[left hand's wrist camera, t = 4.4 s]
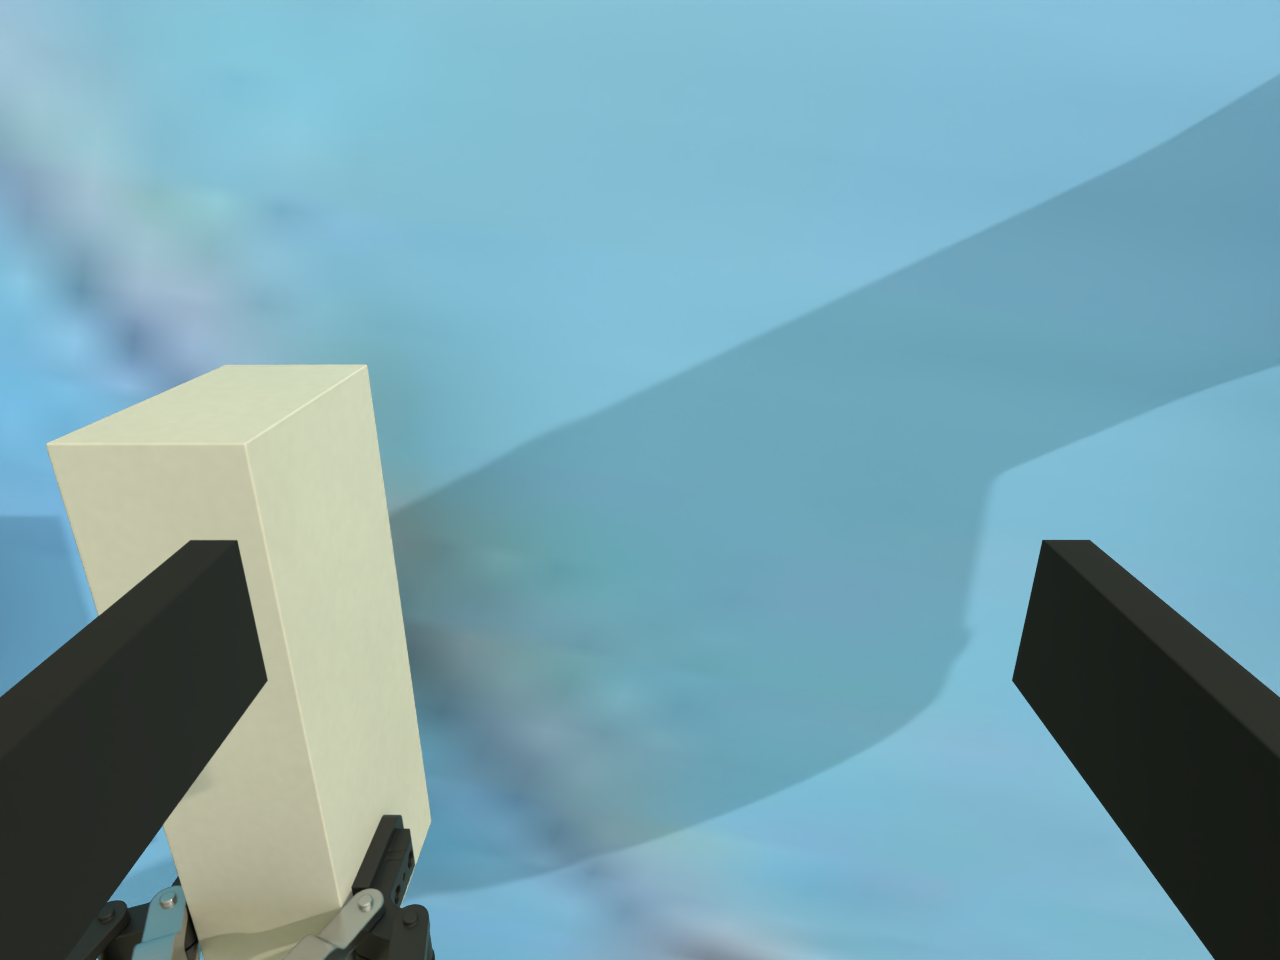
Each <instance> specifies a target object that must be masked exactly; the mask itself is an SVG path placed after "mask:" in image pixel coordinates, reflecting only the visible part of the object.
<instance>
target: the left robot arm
mask: <svg viewBox="0 0 1280 960" xmlns="http://www.w3.org/2000/svg"><path fill="white" fill-rule="evenodd" d="M267 681H268V679H267V674H266V670H265V665H264V660H263V656H262V651H261V646H260V642H259V637H258V633H257V628H256V623H255V619H254V614H253V610H252V605H251V600H250V596H249V591H248V587H247V582H246V577H245V573H244V568H243V564H242V559H241V554H240V550H239V545H238V541H237V540H190V541H189V542H187V543H186V544H185V545H184V546H183V547H181V548H180V549H179V550H178V551H177V552H175V553H174V554H173V555H172V556H171V557H169V558H168V559H167V560H166V561H165V562H163V563H162V564H161V565H160V566H158V567H157V568H156V569H155V570H154V571H152V572H151V573H150V574H149V575H148V576H146V577H145V578H144V579H143V580H142V581H140V582H139V583H138V584H137V585H136V586H134V587H133V588H132V589H131V590H129V591H128V592H127V593H126V594H125V595H123V596H122V597H121V598H120V599H119V600H117V601H116V602H115V603H114V604H113V605H111V606H110V607H109V608H108V609H107V610H105V611H104V612H103V613H102V614H100V615H99V616H98V617H97V618H96V619H94V620H93V621H92V622H91V623H90V624H88V625H87V626H86V627H85V628H84V629H82V630H81V631H80V632H79V633H78V634H76V635H75V636H74V637H73V638H72V639H70V640H69V641H68V642H67V643H65V644H64V645H63V646H62V647H61V648H59V649H58V650H57V651H56V652H55V653H53V654H52V655H51V656H50V657H49V658H47V659H46V660H45V661H44V662H43V663H41V664H40V665H39V666H38V667H36V668H35V669H34V670H33V671H32V672H30V673H29V674H28V675H27V676H26V677H24V678H23V679H22V680H21V681H20V682H18V683H17V684H16V685H15V686H14V687H12V688H11V689H10V690H9V691H7V692H6V693H5V694H4V695H3V696H1V697H0V960H65V959H66V958H67V957H68V955H69V954H70V952H71V951H72V950H73V948H74V947H75V945H76V944H77V943H78V941H79V940H80V939H81V937H82V936H83V934H84V933H85V932H86V930H87V929H88V928H89V926H90V925H91V923H92V922H93V921H94V919H95V918H96V917H97V915H98V914H99V912H100V911H101V910H102V908H103V907H104V906H105V904H106V903H107V901H108V900H109V899H110V897H111V896H112V895H113V893H114V892H115V890H116V889H117V888H118V886H119V885H120V884H121V882H122V881H123V879H124V878H125V877H126V875H127V874H128V872H129V871H130V870H131V868H132V867H133V866H134V864H135V863H136V861H137V860H138V859H139V857H140V856H141V855H142V853H143V852H144V850H145V849H146V848H147V846H148V845H149V844H150V842H151V841H152V839H153V838H154V837H155V835H156V834H157V833H158V831H159V830H160V828H161V827H162V826H163V824H164V823H165V822H166V820H167V819H168V817H169V816H170V815H171V813H172V812H173V810H174V809H175V808H176V806H177V805H178V804H179V802H180V801H181V799H182V798H183V797H184V795H185V794H186V793H187V791H188V790H189V788H190V787H191V786H192V784H193V783H194V782H195V780H196V779H197V777H198V776H199V775H200V773H201V772H202V771H203V769H204V768H205V766H206V765H207V764H208V762H209V761H210V760H211V758H212V757H213V755H214V754H215V753H216V751H217V750H218V748H219V747H220V746H221V744H222V743H223V742H224V740H225V739H226V737H227V736H228V735H229V733H230V732H231V731H232V729H233V728H234V726H235V725H236V724H237V722H238V721H239V720H240V718H241V717H242V715H243V714H244V713H245V711H246V710H247V709H248V707H249V706H250V704H251V703H252V702H253V700H254V699H255V698H256V696H257V695H258V693H259V692H260V691H261V689H262V688H263V686H264V685H265V684H266V682H267ZM1012 681H1013V682H1014V684H1015V685H1016V686H1017V688H1018V689H1019V691H1020V692H1021V693H1022V695H1023V696H1024V698H1025V699H1026V700H1027V702H1028V703H1029V704H1030V706H1031V707H1032V709H1033V710H1034V711H1035V713H1036V714H1037V715H1038V717H1039V718H1040V720H1041V721H1042V722H1043V724H1044V725H1045V726H1046V728H1047V729H1048V731H1049V732H1050V733H1051V735H1052V736H1053V737H1054V739H1055V740H1056V742H1057V743H1058V744H1059V746H1060V747H1061V748H1062V750H1063V751H1064V753H1065V754H1066V755H1067V757H1068V758H1069V760H1070V761H1071V762H1072V764H1073V765H1074V766H1075V768H1076V769H1077V771H1078V772H1079V773H1080V775H1081V776H1082V777H1083V779H1084V780H1085V782H1086V783H1087V784H1088V786H1089V787H1090V788H1091V790H1092V791H1093V793H1094V794H1095V795H1096V797H1097V798H1098V799H1099V801H1100V802H1101V804H1102V805H1103V806H1104V808H1105V809H1106V810H1107V812H1108V813H1109V815H1110V816H1111V817H1112V819H1113V820H1114V822H1115V823H1116V824H1117V826H1118V827H1119V828H1120V830H1121V831H1122V833H1123V834H1124V835H1125V837H1126V838H1127V839H1128V841H1129V842H1130V844H1131V845H1132V846H1133V848H1134V849H1135V850H1136V852H1137V853H1138V855H1139V856H1140V857H1141V859H1142V860H1143V861H1144V863H1145V864H1146V866H1147V867H1148V868H1149V870H1150V871H1151V872H1152V874H1153V875H1154V877H1155V878H1156V879H1157V881H1158V882H1159V884H1160V885H1161V886H1162V888H1163V889H1164V890H1165V892H1166V893H1167V895H1168V896H1169V897H1170V899H1171V900H1172V901H1173V903H1174V904H1175V906H1176V907H1177V908H1178V910H1179V911H1180V912H1181V914H1182V915H1183V917H1184V918H1185V919H1186V921H1187V922H1188V923H1189V925H1190V926H1191V928H1192V929H1193V930H1194V932H1195V933H1196V934H1197V936H1198V937H1199V939H1200V940H1201V941H1202V943H1203V944H1204V946H1205V947H1206V948H1207V950H1208V951H1209V952H1210V954H1211V955H1212V957H1213V958H1214V959H1215V960H1280V697H1279V696H1277V695H1276V694H1275V693H1274V692H1273V691H1271V690H1270V689H1269V688H1268V687H1266V686H1265V685H1264V684H1263V683H1262V682H1260V681H1259V680H1258V679H1257V678H1256V677H1254V676H1253V675H1252V674H1251V673H1250V672H1248V671H1247V670H1246V669H1245V668H1244V667H1242V666H1241V665H1240V664H1239V663H1237V662H1236V661H1235V660H1234V659H1233V658H1231V657H1230V656H1229V655H1228V654H1227V653H1225V652H1224V651H1223V650H1222V649H1221V648H1219V647H1218V646H1217V645H1216V644H1215V643H1213V642H1212V641H1211V640H1210V639H1208V638H1207V637H1206V636H1205V635H1204V634H1202V633H1201V632H1200V631H1199V630H1198V629H1196V628H1195V627H1194V626H1193V625H1192V624H1190V623H1189V622H1188V621H1187V620H1186V619H1184V618H1183V617H1182V616H1181V615H1180V614H1178V613H1177V612H1176V611H1175V610H1173V609H1172V608H1171V607H1170V606H1169V605H1167V604H1166V603H1165V602H1164V601H1163V600H1161V599H1160V598H1159V597H1158V596H1157V595H1155V594H1154V593H1153V592H1152V591H1151V590H1149V589H1148V588H1147V587H1146V586H1144V585H1143V584H1142V583H1141V582H1140V581H1138V580H1137V579H1136V578H1135V577H1134V576H1132V575H1131V574H1130V573H1129V572H1128V571H1126V570H1125V569H1124V568H1123V567H1122V566H1120V565H1119V564H1118V563H1117V562H1115V561H1114V560H1113V559H1112V558H1111V557H1109V556H1108V555H1107V554H1106V553H1105V552H1103V551H1102V550H1101V549H1100V548H1099V547H1097V546H1096V545H1095V544H1094V543H1093V542H1091V541H1090V540H1043V541H1042V545H1041V550H1040V554H1039V559H1038V564H1037V568H1036V573H1035V577H1034V582H1033V587H1032V591H1031V596H1030V600H1029V605H1028V610H1027V614H1026V619H1025V623H1024V628H1023V633H1022V637H1021V642H1020V646H1019V651H1018V656H1017V660H1016V665H1015V670H1014V674H1013V679H1012Z"/></svg>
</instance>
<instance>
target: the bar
mask: <svg viewBox="0 0 1280 960" xmlns="http://www.w3.org/2000/svg"><path fill="white" fill-rule="evenodd" d="M46 447H47V450H48V454H49V457H50V460H51V463H52V467H53V470H54V473H55V476H56V480H57V483H58V486H59V489H60V493H61V496H62V499H63V502H64V506H65V509H66V512H67V515H68V519H69V522H70V525H71V528H72V532H73V535H74V538H75V541H76V545H77V548H78V551H79V554H80V558H81V561H82V564H83V567H84V571H85V574H86V577H87V580H88V584H89V587H90V590H91V593H92V597H93V600H94V603H95V606H96V610H97V613H98V616H99V615H100V614H102V613H103V612H104V611H105V610H107V609H108V608H109V607H110V606H111V605H113V604H114V603H115V602H116V601H117V600H119V599H120V598H121V597H122V596H123V595H125V594H126V593H127V592H128V591H129V590H131V589H132V588H133V587H134V586H136V585H137V584H138V583H139V582H140V581H142V580H143V579H144V578H145V577H146V576H148V575H149V574H150V573H151V572H152V571H154V570H155V569H156V568H157V567H158V566H160V565H161V564H162V563H163V562H165V561H166V560H167V559H168V558H169V557H171V556H172V555H173V554H174V553H175V552H177V551H178V550H179V549H180V548H181V547H183V546H184V545H185V544H186V543H187V542H189V541H190V540H237V541H238V545H239V550H240V554H241V559H242V564H243V568H244V573H245V577H246V582H247V587H248V591H249V596H250V600H251V605H252V610H253V614H254V619H255V623H256V628H257V633H258V637H259V642H260V646H261V651H262V656H263V660H264V665H265V670H266V674H267V679H268V681H267V682H266V684H265V685H264V686H263V688H262V689H261V691H260V692H259V693H258V695H257V696H256V698H255V699H254V700H253V702H252V703H251V704H250V706H249V707H248V709H247V710H246V711H245V713H244V714H243V715H242V717H241V718H240V720H239V721H238V722H237V724H236V725H235V726H234V728H233V729H232V731H231V732H230V733H229V735H228V736H227V737H226V739H225V740H224V742H223V743H222V744H221V746H220V747H219V748H218V750H217V751H216V753H215V754H214V755H213V757H212V758H211V760H210V761H209V762H208V764H207V765H206V766H205V768H204V769H203V771H202V772H201V773H200V775H199V776H198V777H197V779H196V780H195V782H194V783H193V784H192V786H191V787H190V788H189V790H188V791H187V793H186V794H185V795H184V797H183V798H182V799H181V801H180V802H179V804H178V805H177V806H176V808H175V809H174V810H173V812H172V813H171V815H170V816H169V817H168V819H167V820H166V822H165V823H164V824H163V827H164V831H165V834H166V837H167V840H168V844H169V847H170V850H171V853H172V857H173V860H174V863H175V866H176V870H177V873H178V876H179V879H180V883H181V886H182V889H183V892H184V896H185V899H186V902H187V905H188V909H189V912H190V915H191V918H192V922H193V925H194V928H195V931H196V935H197V938H198V941H199V944H200V948H201V951H202V954H203V957H204V960H282V959H283V958H284V957H285V956H286V955H287V954H288V953H289V952H290V951H291V950H292V949H293V947H294V946H295V945H296V944H297V943H298V942H299V941H300V940H301V939H302V938H303V937H304V936H306V935H308V934H312V935H317V934H319V933H320V932H321V931H322V930H323V929H324V928H325V926H326V925H327V924H328V923H329V922H330V921H331V920H332V919H333V918H334V917H335V916H336V914H337V913H338V912H339V911H340V910H341V909H342V908H343V907H344V906H345V905H346V904H347V903H348V901H349V900H350V899H351V898H352V897H353V893H352V888H351V887H352V884H353V882H354V880H355V877H356V875H357V873H358V871H359V868H360V866H361V864H362V861H363V859H364V857H365V854H366V852H367V850H368V847H369V845H370V843H371V841H372V838H373V836H374V834H375V831H376V829H377V827H378V824H379V822H380V820H381V818H382V816H383V815H401V816H402V819H403V826H404V828H405V829H410V833H411V839H412V846H413V852H414V860H415V866H416V863H417V860H418V857H419V854H420V851H421V849H422V846H423V843H424V840H425V837H426V835H427V832H428V829H429V826H430V823H431V815H430V808H429V801H428V794H427V787H426V780H425V772H424V765H423V758H422V751H421V744H420V737H419V730H418V723H417V716H416V709H415V701H414V694H413V687H412V680H411V673H410V666H409V659H408V652H407V645H406V637H405V630H404V623H403V616H402V609H401V602H400V595H399V588H398V581H397V574H396V566H395V559H394V552H393V545H392V538H391V531H390V524H389V517H388V510H387V503H386V495H385V488H384V481H383V474H382V467H381V460H380V453H379V446H378V439H377V432H376V424H375V417H374V410H373V403H372V396H371V389H370V382H369V375H368V368H367V365H225V366H222V367H220V368H218V369H215V370H213V371H211V372H209V373H206V374H204V375H202V376H199V377H197V378H195V379H193V380H190V381H188V382H186V383H183V384H181V385H179V386H177V387H174V388H172V389H170V390H167V391H165V392H163V393H161V394H158V395H156V396H154V397H151V398H149V399H147V400H145V401H142V402H140V403H138V404H135V405H133V406H131V407H129V408H126V409H124V410H122V411H120V412H117V413H115V414H113V415H110V416H108V417H106V418H104V419H101V420H99V421H97V422H94V423H92V424H90V425H88V426H85V427H83V428H81V429H78V430H76V431H74V432H72V433H69V434H67V435H65V436H62V437H60V438H58V439H56V440H53V441H51V442H49V443H47V444H46ZM414 868H415V867H414ZM413 871H414V870H413ZM412 874H413V873H412ZM411 877H412V875H411ZM411 877H410V880H411ZM409 882H410V881H409ZM408 885H409V884H408ZM408 885H407V888H408ZM406 891H407V889H406ZM405 894H406V892H405ZM404 897H405V895H404ZM403 899H404V898H403ZM402 902H403V901H402ZM401 905H402V903H401ZM400 908H401V906H400Z"/></svg>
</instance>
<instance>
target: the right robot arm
mask: <svg viewBox="0 0 1280 960" xmlns="http://www.w3.org/2000/svg"><path fill="white" fill-rule="evenodd" d="M414 867H415V860H414V852H413V846H412V839H411V833H410V829H405V828H404V826H403V819H402V816H401V815H383V816H382V818H381V820H380V822H379V824H378V827H377V829H376V831H375V834H374V836H373V838H372V841H371V843H370V845H369V847H368V850H367V852H366V854H365V857H364V859H363V861H362V864H361V866H360V868H359V871H358V873H357V875H356V877H355V880H354V882H353V884H352V887H351V888H352V893H353V897H352V898H351V899H350V900H349V901H348V903H347V904H346V905H345V906H344V907H343V908H342V909H341V910H340V911H339V912H338V913H337V914H336V916H335V917H334V918H333V919H332V920H331V921H330V922H329V923H328V924H327V925H326V926H325V928H324V929H323V930H322V931H321V932H320V933H319V934H317V935H312V934H308V935H306V936H304V937H303V938H302V939H301V940H300V941H299V942H298V943H297V944H296V945H295V946H294V947H293V949H292V950H291V951H290V952H289V953H288V954H287V955H286V956H285V957H284V958H283V959H282V960H435V955H434V951H433V949H432V944H431V938H430V931H429V930H430V921H429V914H428V911H427V909H426V908H425V907H424V906H421V905H417V904H413V905H409V906H406V907H404V908H400V906H401V903H402V901H403V898H404V895H405V892H406V889H407V885H408V884H409V881H410V877H411V875H412V873H413V870H414ZM200 953H201V948H200V944H199V941H198V938H197V935H196V931H195V928H194V925H193V922H192V918H191V915H190V912H189V909H188V905H187V902H186V899H185V896H184V892H183V889H182V886H181V883H180V879H179V876H178V877H177V879H176V880H175V882H174V883H173V884H172V886H171V887H168V888H166V889H164V890H162V891H160V892H159V893H158V894H156V895H155V896H154V897H153V899H152V900H151V902H149V903H146V904H143V905H139V906H135V907H131V908H127V905H126V903H125V902H123V901H119V900H116V901H110V902H107V903H106V904H105V906H104V907H103V908H102V910H101V911H100V912H99V914H98V915H97V917H96V918H95V919H94V921H93V922H92V923H91V925H90V926H89V928H88V929H87V930H86V932H85V933H84V934H83V936H82V937H81V939H80V940H79V941H78V943H77V944H76V945H75V947H74V948H73V950H72V951H71V952H70V954H69V955H68V957H67V958H66V959H65V960H96V959H97V958H98V959H99V960H200Z"/></svg>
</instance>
